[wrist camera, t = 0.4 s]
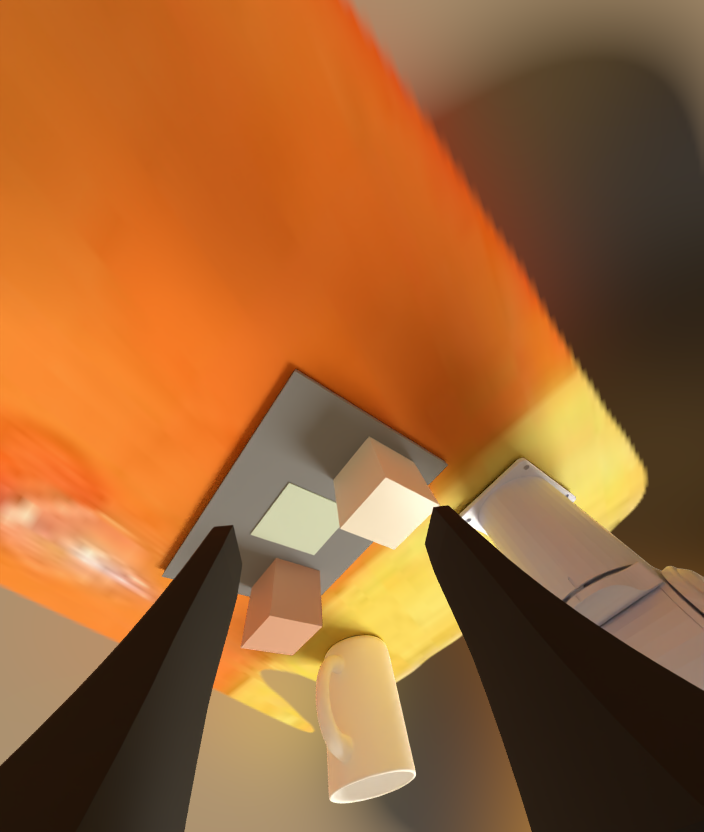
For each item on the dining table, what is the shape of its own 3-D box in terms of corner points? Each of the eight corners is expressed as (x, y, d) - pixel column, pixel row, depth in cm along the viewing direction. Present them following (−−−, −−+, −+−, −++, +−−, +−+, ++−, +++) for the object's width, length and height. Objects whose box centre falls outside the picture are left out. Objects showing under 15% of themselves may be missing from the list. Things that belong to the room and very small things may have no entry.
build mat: (445, 461, 21) (448, 465, 21) (307, 604, 27) (307, 610, 27) (295, 368, 16) (295, 371, 16) (164, 570, 22) (161, 577, 22)
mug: (289, 646, 30) (281, 799, 21) (347, 613, 29) (365, 761, 20) (347, 673, 36) (360, 805, 27) (397, 646, 35) (430, 775, 26)
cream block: (413, 462, 20) (439, 505, 16) (378, 500, 22) (394, 549, 18) (368, 436, 19) (385, 477, 15) (333, 479, 20) (340, 528, 16)
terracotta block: (319, 570, 24) (322, 626, 20) (294, 597, 26) (292, 655, 22) (276, 557, 23) (269, 615, 19) (251, 587, 24) (240, 647, 20)
